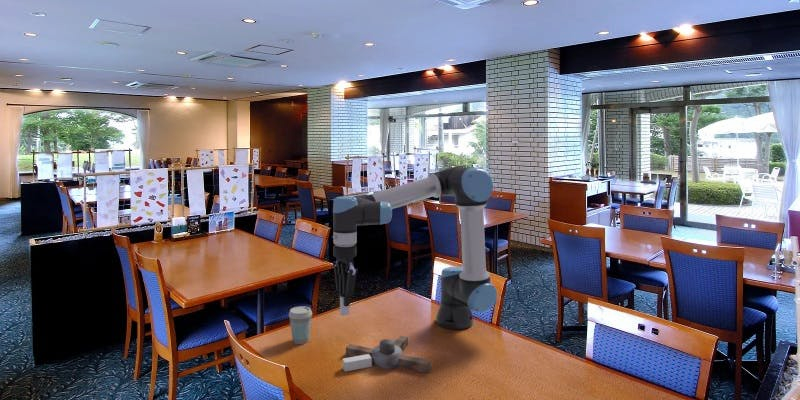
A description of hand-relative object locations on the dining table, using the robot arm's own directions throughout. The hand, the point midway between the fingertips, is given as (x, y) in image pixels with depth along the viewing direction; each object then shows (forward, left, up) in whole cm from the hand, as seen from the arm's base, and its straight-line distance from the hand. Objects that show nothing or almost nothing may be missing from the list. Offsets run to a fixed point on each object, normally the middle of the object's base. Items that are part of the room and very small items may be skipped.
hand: (344, 314), depth 149 cm
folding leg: (-3, +5, -17) cm, 17 cm away
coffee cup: (+11, -22, -17) cm, 30 cm away
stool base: (-13, +5, -17) cm, 22 cm away
